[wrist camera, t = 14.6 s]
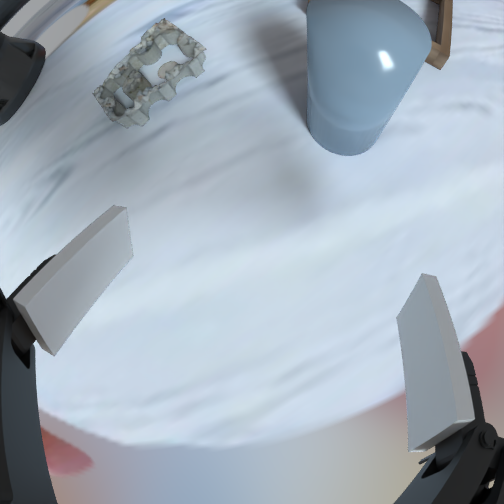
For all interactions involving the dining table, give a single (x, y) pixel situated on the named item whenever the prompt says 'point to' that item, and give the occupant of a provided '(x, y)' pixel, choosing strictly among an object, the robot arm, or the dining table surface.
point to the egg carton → (137, 84)
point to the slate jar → (359, 68)
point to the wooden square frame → (441, 35)
